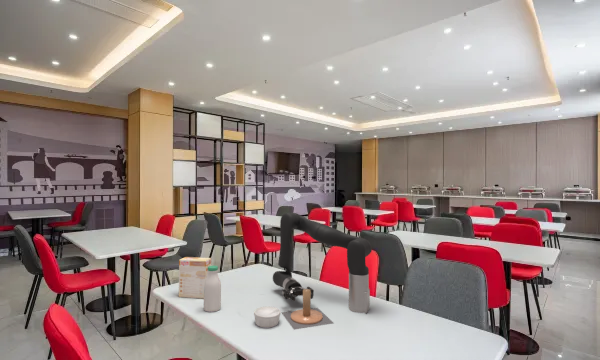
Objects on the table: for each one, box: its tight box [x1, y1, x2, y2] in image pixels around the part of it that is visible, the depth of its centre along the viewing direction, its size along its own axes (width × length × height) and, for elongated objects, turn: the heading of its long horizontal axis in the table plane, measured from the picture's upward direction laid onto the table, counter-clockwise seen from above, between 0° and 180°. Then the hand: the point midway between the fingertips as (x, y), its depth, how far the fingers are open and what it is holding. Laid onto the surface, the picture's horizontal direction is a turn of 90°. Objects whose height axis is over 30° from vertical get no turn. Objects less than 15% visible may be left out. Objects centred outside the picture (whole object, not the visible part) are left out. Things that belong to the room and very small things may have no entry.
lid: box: [291, 288, 323, 325], centre depth 141 cm, size 14×14×12 cm
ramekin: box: [253, 306, 281, 329], centre depth 136 cm, size 11×11×5 cm
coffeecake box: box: [178, 256, 212, 300], centre depth 168 cm, size 15×7×20 cm, turn 80°
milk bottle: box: [203, 265, 222, 313], centre depth 151 cm, size 8×8×20 cm
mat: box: [280, 307, 334, 331], centre depth 141 cm, size 18×18×1 cm
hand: (303, 297), depth 146 cm, fingers open, 8 cm apart
